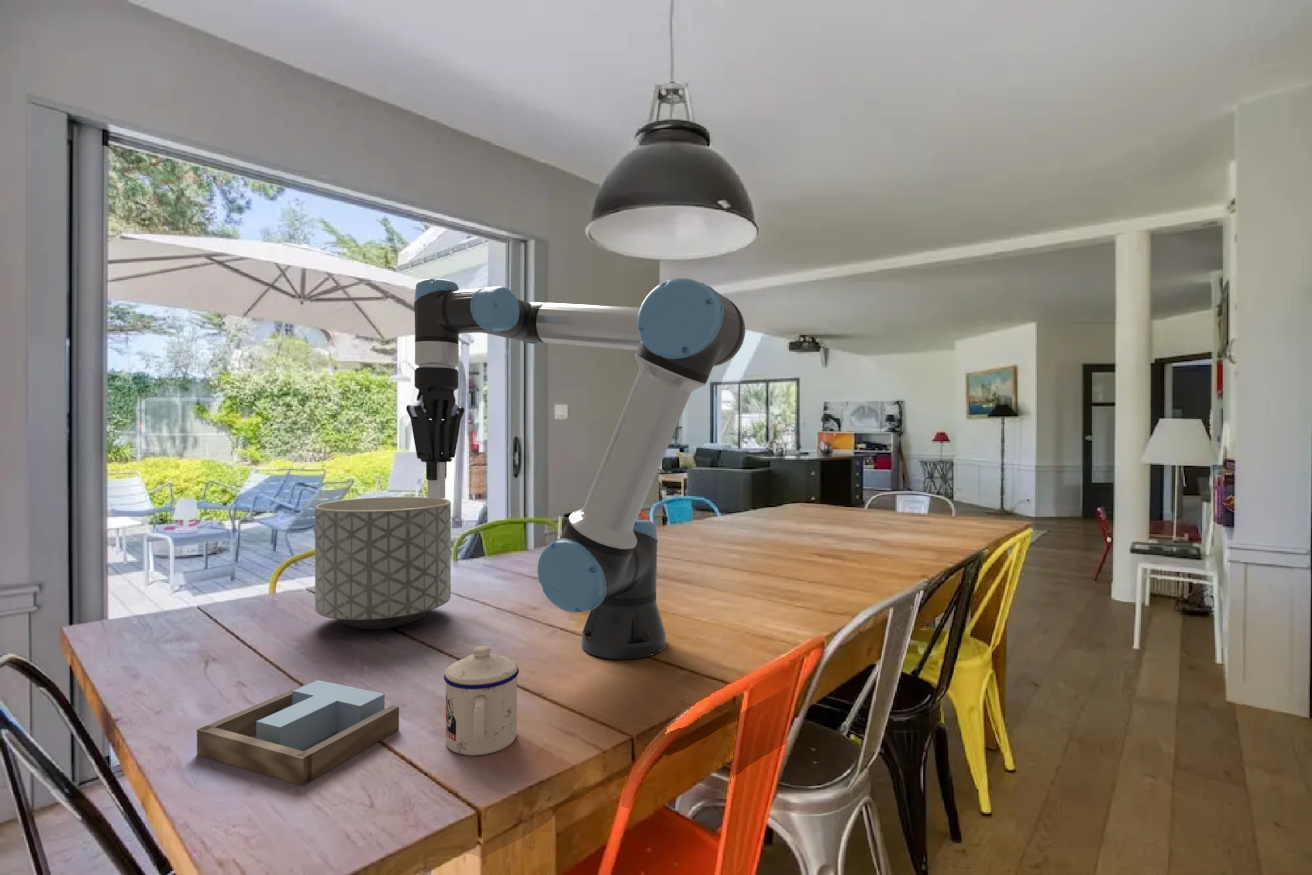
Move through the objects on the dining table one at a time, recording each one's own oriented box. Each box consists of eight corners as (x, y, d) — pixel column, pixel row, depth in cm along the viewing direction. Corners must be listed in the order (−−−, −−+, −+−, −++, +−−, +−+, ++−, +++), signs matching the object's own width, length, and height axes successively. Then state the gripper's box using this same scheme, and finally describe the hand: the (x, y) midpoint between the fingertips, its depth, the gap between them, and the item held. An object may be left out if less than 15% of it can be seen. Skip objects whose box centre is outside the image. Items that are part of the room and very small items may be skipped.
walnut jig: (398, 729, 83) (399, 706, 83) (302, 785, 70) (302, 758, 70) (302, 706, 90) (302, 685, 90) (196, 754, 77) (196, 729, 77)
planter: (311, 649, 113) (311, 513, 112) (317, 612, 135) (317, 499, 135) (459, 630, 124) (459, 506, 123) (442, 599, 146) (442, 494, 146)
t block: (384, 723, 85) (384, 693, 85) (304, 768, 74) (304, 733, 74) (318, 708, 90) (318, 679, 90) (233, 747, 78) (233, 715, 78)
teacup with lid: (447, 726, 84) (447, 638, 84) (518, 720, 86) (518, 633, 86) (436, 774, 73) (437, 672, 73) (519, 766, 75) (519, 666, 75)
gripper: (444, 371, 123) (443, 493, 124) (393, 364, 111) (393, 500, 112) (476, 370, 121) (476, 495, 121) (428, 363, 109) (428, 503, 109)
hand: (436, 498), depth 116 cm, fingers closed
